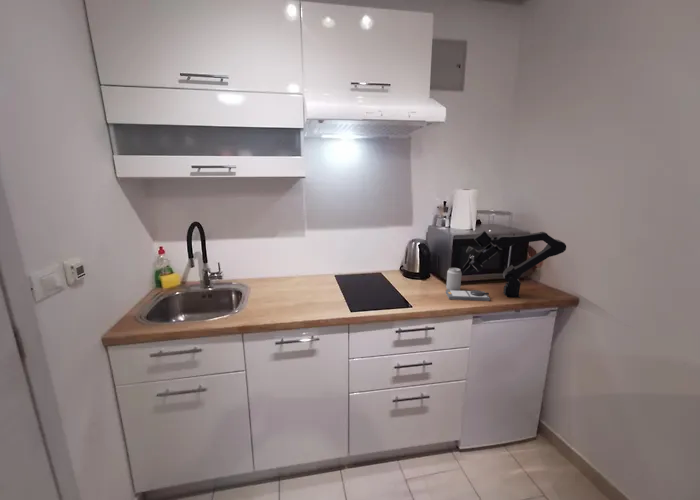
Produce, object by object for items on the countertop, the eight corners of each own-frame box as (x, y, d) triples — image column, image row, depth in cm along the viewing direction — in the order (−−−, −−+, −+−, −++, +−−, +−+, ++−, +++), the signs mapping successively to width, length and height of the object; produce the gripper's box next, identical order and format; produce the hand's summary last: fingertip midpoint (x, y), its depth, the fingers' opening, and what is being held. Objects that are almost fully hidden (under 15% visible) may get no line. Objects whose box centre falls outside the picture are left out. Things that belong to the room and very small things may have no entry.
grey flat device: (485, 294, 174) (485, 289, 174) (491, 301, 164) (491, 296, 164) (445, 292, 176) (445, 287, 176) (449, 299, 167) (449, 294, 166)
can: (444, 290, 179) (446, 269, 176) (447, 286, 186) (449, 266, 183) (458, 293, 176) (460, 271, 173) (461, 288, 182) (463, 268, 179)
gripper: (475, 238, 180) (452, 256, 186) (477, 245, 163) (452, 264, 169) (489, 253, 180) (466, 270, 186) (493, 262, 162) (467, 280, 168)
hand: (462, 271), depth 177 cm, fingers open, 9 cm apart
